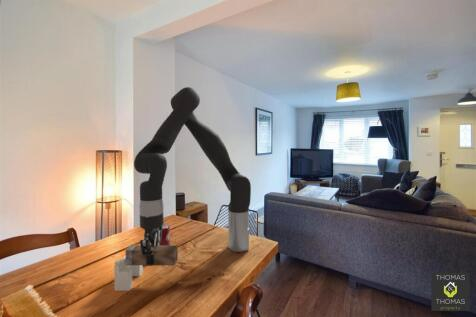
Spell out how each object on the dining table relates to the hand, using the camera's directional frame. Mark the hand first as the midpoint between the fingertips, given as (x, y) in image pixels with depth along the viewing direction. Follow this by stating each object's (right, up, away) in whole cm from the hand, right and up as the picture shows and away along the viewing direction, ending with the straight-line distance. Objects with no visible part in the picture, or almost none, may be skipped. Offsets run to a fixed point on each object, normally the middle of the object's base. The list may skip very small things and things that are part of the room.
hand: (152, 261), depth 78 cm
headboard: (-8, -7, 0) cm, 11 cm away
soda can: (-4, -6, +20) cm, 21 cm away
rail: (0, 0, 0) cm, 0 cm away
